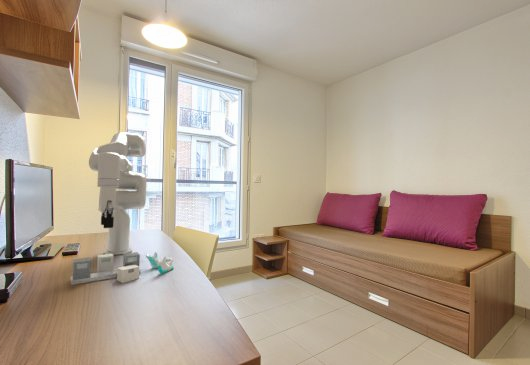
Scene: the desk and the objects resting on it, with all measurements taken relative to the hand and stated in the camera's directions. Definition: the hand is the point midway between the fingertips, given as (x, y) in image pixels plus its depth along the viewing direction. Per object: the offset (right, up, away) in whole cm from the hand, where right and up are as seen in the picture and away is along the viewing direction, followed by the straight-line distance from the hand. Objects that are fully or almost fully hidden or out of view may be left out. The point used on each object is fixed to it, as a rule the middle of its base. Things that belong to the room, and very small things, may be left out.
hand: (106, 226), depth 105 cm
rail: (+4, -18, -6) cm, 20 cm away
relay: (+13, -18, -8) cm, 24 cm away
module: (-1, -18, 0) cm, 18 cm away
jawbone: (+20, -19, +4) cm, 28 cm away
